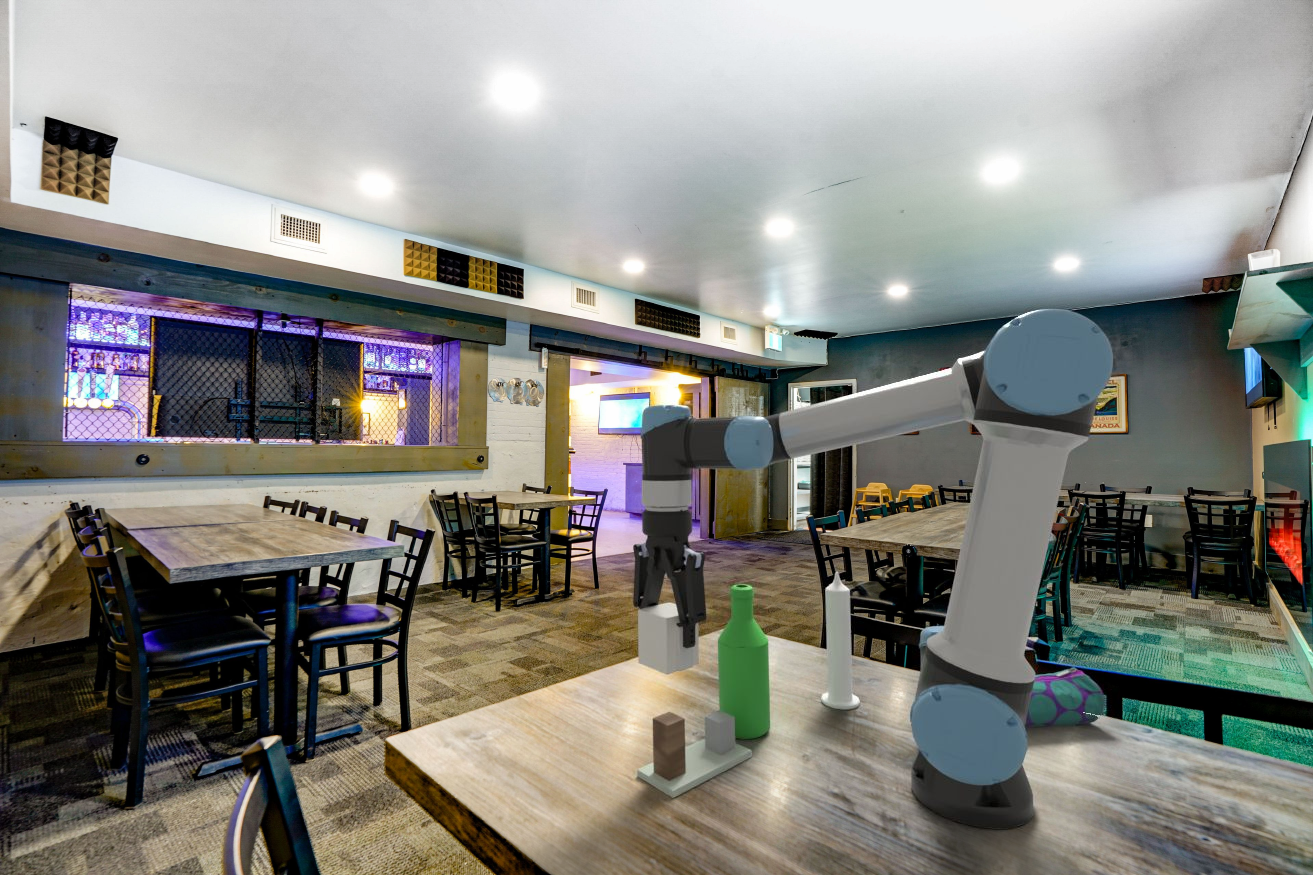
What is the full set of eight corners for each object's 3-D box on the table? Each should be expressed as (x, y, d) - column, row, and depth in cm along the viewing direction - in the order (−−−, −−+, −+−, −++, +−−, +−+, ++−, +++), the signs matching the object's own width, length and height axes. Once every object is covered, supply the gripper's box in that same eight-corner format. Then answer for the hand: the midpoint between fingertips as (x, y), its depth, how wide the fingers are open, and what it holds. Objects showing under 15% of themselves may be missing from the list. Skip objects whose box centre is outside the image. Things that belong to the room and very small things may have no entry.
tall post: (685, 772, 91) (684, 718, 91) (668, 780, 89) (667, 725, 89) (670, 763, 94) (669, 711, 94) (653, 771, 92) (652, 718, 92)
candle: (863, 699, 119) (860, 570, 119) (854, 712, 113) (850, 576, 113) (827, 692, 123) (824, 567, 123) (816, 704, 117) (813, 573, 117)
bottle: (769, 743, 102) (766, 592, 102) (717, 739, 104) (714, 591, 104) (770, 720, 111) (767, 581, 111) (722, 716, 112) (719, 580, 113)
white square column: (698, 663, 91) (698, 610, 92) (666, 674, 87) (666, 618, 87) (670, 653, 96) (669, 602, 96) (638, 662, 92) (638, 609, 92)
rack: (751, 756, 98) (750, 718, 98) (673, 797, 86) (672, 755, 87) (715, 739, 104) (714, 703, 104) (637, 775, 92) (636, 735, 93)
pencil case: (1065, 709, 113) (1063, 656, 113) (1107, 730, 104) (1105, 673, 104) (962, 718, 110) (960, 664, 110) (996, 741, 101) (994, 683, 101)
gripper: (731, 510, 87) (733, 673, 87) (645, 502, 102) (646, 641, 101) (694, 515, 82) (696, 687, 82) (608, 505, 97) (609, 651, 97)
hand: (668, 661), depth 92 cm, fingers closed on white square column, 6 cm apart
